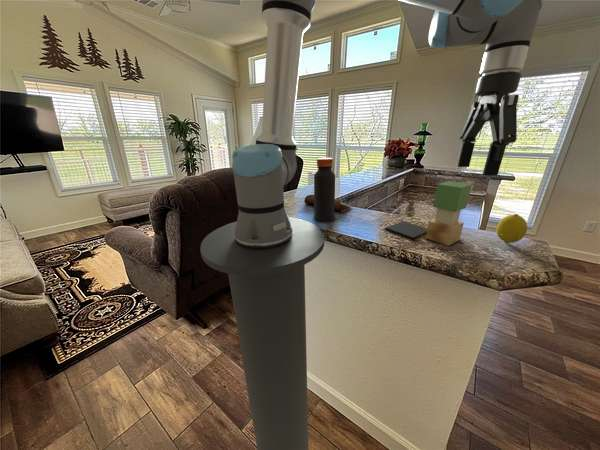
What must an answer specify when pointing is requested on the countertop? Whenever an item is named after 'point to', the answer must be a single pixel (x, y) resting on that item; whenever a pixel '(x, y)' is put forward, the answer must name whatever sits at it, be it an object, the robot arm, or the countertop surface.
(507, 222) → the lemon
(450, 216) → the cream block
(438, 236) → the maple block
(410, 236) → the coaster
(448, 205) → the green block
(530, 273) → the countertop surface
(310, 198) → the sunglasses case
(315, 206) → the bottle
